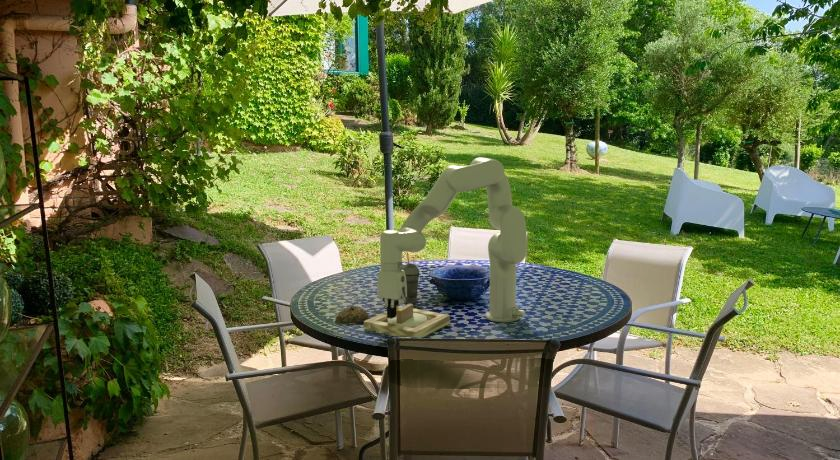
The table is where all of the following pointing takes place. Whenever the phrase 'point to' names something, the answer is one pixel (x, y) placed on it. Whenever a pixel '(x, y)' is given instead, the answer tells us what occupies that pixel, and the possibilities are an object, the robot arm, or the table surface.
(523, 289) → the table surface
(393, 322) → the dial
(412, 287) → the beverage cup
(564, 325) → the table surface
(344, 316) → the bread roll
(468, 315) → the table surface
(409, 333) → the tray
